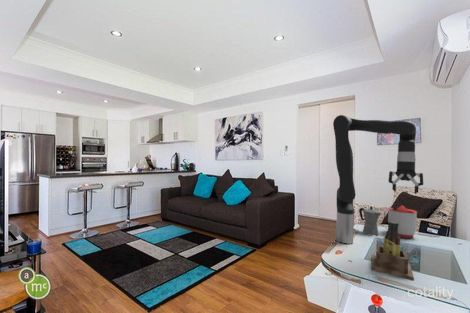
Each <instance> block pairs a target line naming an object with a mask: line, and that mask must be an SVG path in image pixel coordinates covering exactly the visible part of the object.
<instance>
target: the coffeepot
mask: <svg viewBox="0 0 470 313" xmlns="http://www.w3.org/2000/svg"><path fill="white" fill-rule="evenodd" d="M358 213H359V216H360V220H361V221H364V224H363V228H362V229H363V230H362V233H363V232H364V233H363V234H365V233H366V234H365V235H367V234H371V235H370V236H373V235H377V236H378V235H379V228H378V224H377V223H378V222H379V221H378V220H379V216H381V215H382V213H381V212H380V211H378V210H376V209H373V206H369V209H367V208H365V207H360V208H359V210H358Z"/></svg>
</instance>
